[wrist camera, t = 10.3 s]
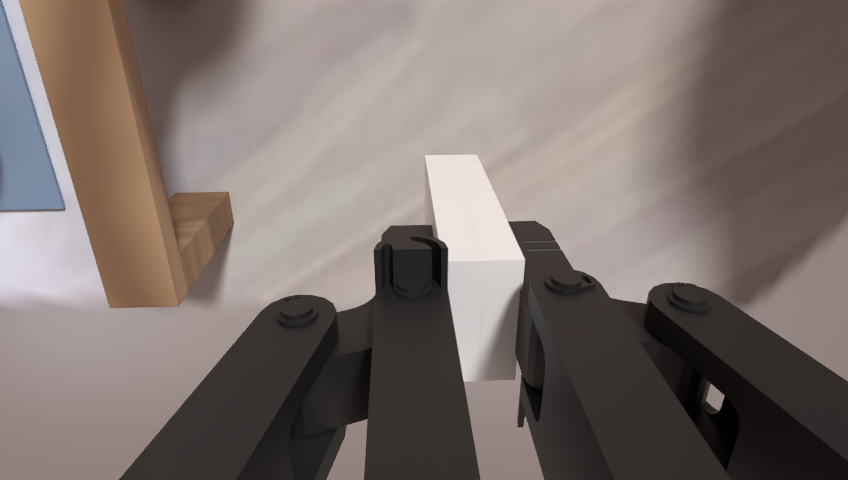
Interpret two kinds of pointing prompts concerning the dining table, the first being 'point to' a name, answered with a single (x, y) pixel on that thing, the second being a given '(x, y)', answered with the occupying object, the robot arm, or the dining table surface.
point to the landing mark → (21, 138)
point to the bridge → (119, 156)
